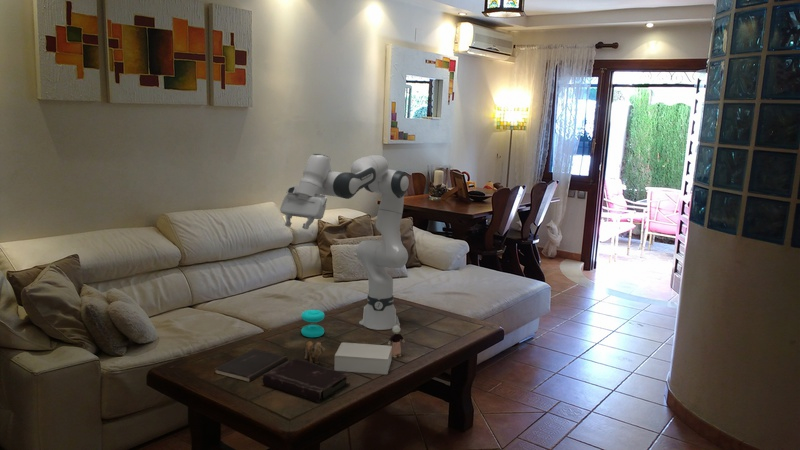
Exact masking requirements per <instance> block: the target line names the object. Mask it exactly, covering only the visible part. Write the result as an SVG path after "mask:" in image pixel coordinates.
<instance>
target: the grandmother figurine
mask: <svg viewBox="0 0 800 450" xmlns="http://www.w3.org/2000/svg"><path fill="white" fill-rule="evenodd" d="M391 330H392V333H393V335H391V336H390V338H389V339H388V342H387V346H392V358H397V357H402V354H401V353H402V349H401V343H403V344H404V343H405V342H406V341H405V339H404V336H403V335H402V334H400V332H401V331H402V330H401V326H400V327H399V326H397V325H395V326H394V327H393V328H391ZM391 343H392V345H391Z"/></svg>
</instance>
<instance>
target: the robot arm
mask: <svg viewBox="0 0 800 450" xmlns="http://www.w3.org/2000/svg"><path fill="white" fill-rule="evenodd" d="M409 187H410V178H409V176H408V174H407V173H406V172H404V171H402V170H395V169H389V163H388V161H387V158H385V157H384V155H379V154H372V155H366V156H362V157H360V158H358V159H356V160H354V161H353V162H352V164H351V167H350V172H344V171H343V172H341V171H334V170H333V168H332V165H331V158H330V156H328V155H325V154H322V153H313V154H311V155H310V156H309V158H308V159H307V161H306V164H305V166H304V168H303V172H302V177H301V179H300V181H299V182H298V184H296V185H294V186H291V187H288V188H287V189H286V194H285V196H284V197H283V200H282V203H281V205H280V208H279V210H280V213H281V214H283V215H285V223H284V227H285V226H286V227H287V228H288V227H289V228H290V227H291V226H292V224H293V223H292V222H291V219H292V218H293V217H296V218H297V217H298V218H305V219H307V220H306V222H305V223H303V224H302V229H303V230H306V231H307V230H309V228H310V226H311V225H312V224H313V223H314V221H315V220H322V219H323V218H324V216H325V213H326V207H327V201H328V198H327V197H326V196H329V197H335V198H336V197H337V198H342V199H346V200H348V199H352V198H353V197H354V196H355V195H356V194H357V193H358V192H359V191H360V190H362V189H363V188H364V190H366V191H368V192H369V193H375V194H376V193H377V194H379V195H381V199H380V202H379V205H378V210H377V214H376V221H375V229H376V231H377V232H379V233H380V234H381V239H382V240H381V241H380V240H379V241H378V240H374V239H367V240H362V241H360V242H359V243H358V245H357V246H356V247H357V248H356V256H357V259H358V260H359V261H360V263H362V265H363V267H364V270H365V272H366V274H367V277H368V281H367V282H368V294H367V296H366V297H367V298H366V301H367V304H366V305H364V306H363V315H362V319H361V320H359V323H358V324H359V325H361V326H364V327H365V328H368V329H371V330H378V331H383V330H392V329H393V327H394V326H395V325H397V326H399V327H400V328H401V323H400V319H399V317H398V315H397V309H396V307H395V305H394V302H395V301H394V300H395V298H394V295H393V293H394V291H393V290H394V279H393V277H392V276H391V275H390V274H389V273H388V271H387V270H386V268H388V269H401V268H403V267H404V266H406V264H407V262H408V260H409V254H408V253H409V252H408V250H407V248H406V247H405V246H404V245H403V243H402V242H403V241H402V238H401V233H400V231H401V230H400V229H401V224H402V218H403V211H404V205H405V204H404V203H405V202H404V201H405V196H404V195H405V194H406V193H407V192H408V190H409Z"/></svg>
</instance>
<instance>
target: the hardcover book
mask: <svg viewBox="0 0 800 450" xmlns="http://www.w3.org/2000/svg"><path fill="white" fill-rule="evenodd" d="M288 361H289V360H288V356H287V355H283V354H280V353H274V352H270V351H265V350H262V349H257V348H253V349H251V350H249V351H247V352H244V353H243V354H240V355H239V356H237V357H235V358H233V359H231V360H229V361H226V362H225V363H223V364H221V365H219V366H217V367H214V370H215V371H214V372H215V374H218V375H222V376H226V377H230V378H233V379H236V380H241V381H245V382H248V383H251V382H252V381H254V380H256V379H258V378H260V377H262V376H263V375H264V374H265V373H267V372H269V371H271V370H272V369H274V368H276V367H278V366H279V365H281V364H283V363H285V362H288Z"/></svg>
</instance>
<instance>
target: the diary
mask: <svg viewBox="0 0 800 450" xmlns="http://www.w3.org/2000/svg"><path fill="white" fill-rule="evenodd" d="M312 362H313V361H312ZM312 362H310V360H309V361H308V360H305V359H301V358H297V357H294V358H292V359H290V360H287V361H286V362H284V363H283V364H281V365H279V366H277V367H276V368H274V369H272V370H270V371H269V372H267V373H265V374H263V375H262V384H263V386H266V387H269V388H273V389H275V390H279V391H282V392H284V393H287V394H291V395H293V396H297V397H300V398H304V399H306V400H309V401H312V402H314V403H315V402H316V403H317V404H322V401H324V400H325V399H326V398H327V397H329V396H331V395H333V394H335V395H336V394H338V393H339V392H341V391H342V390H345V389H346V388H348V387H349V385H350V382H349V383H347V379H348V378H347V377H349V376H351V374H349V373H345V372H344V371H336V370H334V369H333V368H329V367H325V366H321V365H320V364H318V363H315V362H313V363H312Z"/></svg>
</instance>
